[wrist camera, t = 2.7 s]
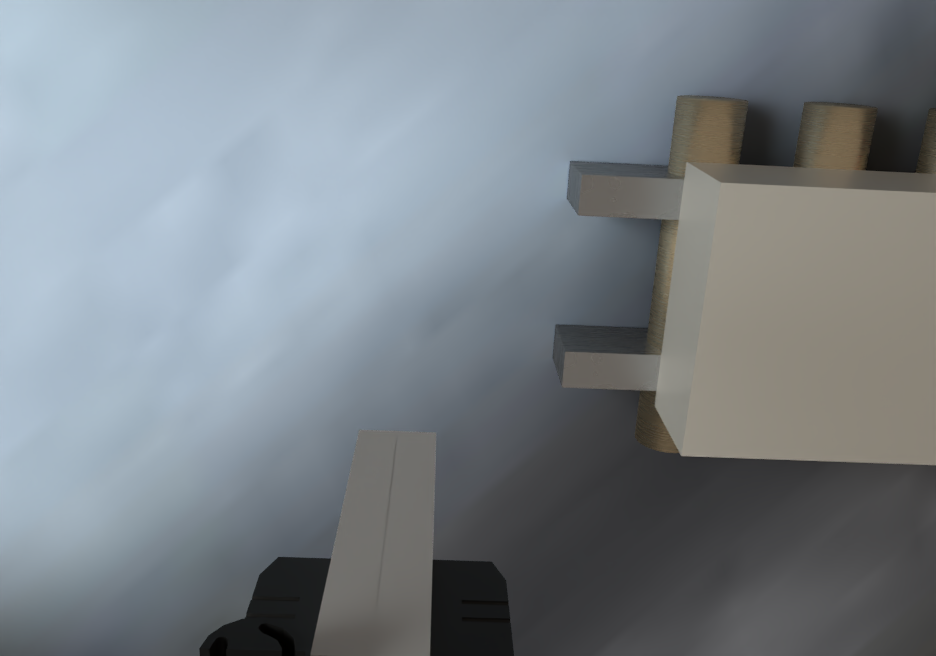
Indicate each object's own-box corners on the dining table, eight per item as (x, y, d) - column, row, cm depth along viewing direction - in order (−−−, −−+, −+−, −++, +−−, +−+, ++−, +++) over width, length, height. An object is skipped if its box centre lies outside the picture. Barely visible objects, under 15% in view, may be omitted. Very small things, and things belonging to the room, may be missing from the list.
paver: (686, 161, 30) (721, 182, 26) (1032, 178, 31) (1115, 201, 27) (654, 405, 33) (681, 456, 29) (970, 417, 34) (1037, 468, 30)
